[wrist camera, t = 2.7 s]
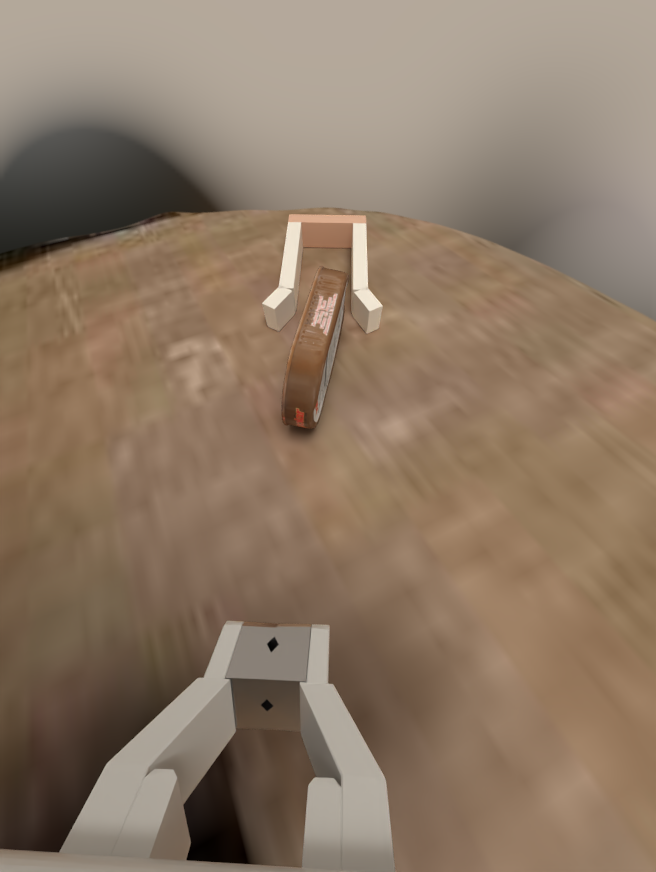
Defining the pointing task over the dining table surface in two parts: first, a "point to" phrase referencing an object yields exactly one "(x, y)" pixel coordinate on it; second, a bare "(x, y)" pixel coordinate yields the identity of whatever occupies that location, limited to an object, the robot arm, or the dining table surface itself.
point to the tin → (314, 349)
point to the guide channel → (324, 235)
